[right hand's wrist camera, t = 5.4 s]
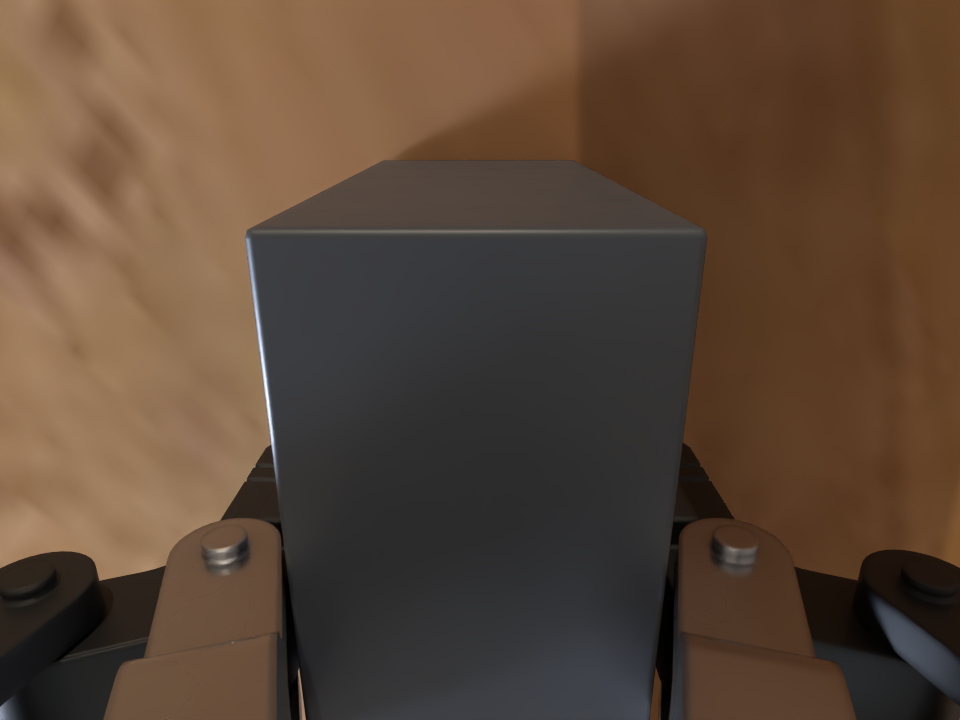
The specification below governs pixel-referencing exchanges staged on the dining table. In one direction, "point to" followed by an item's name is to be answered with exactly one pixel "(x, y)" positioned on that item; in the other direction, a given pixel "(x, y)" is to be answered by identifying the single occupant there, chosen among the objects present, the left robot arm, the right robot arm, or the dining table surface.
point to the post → (476, 435)
